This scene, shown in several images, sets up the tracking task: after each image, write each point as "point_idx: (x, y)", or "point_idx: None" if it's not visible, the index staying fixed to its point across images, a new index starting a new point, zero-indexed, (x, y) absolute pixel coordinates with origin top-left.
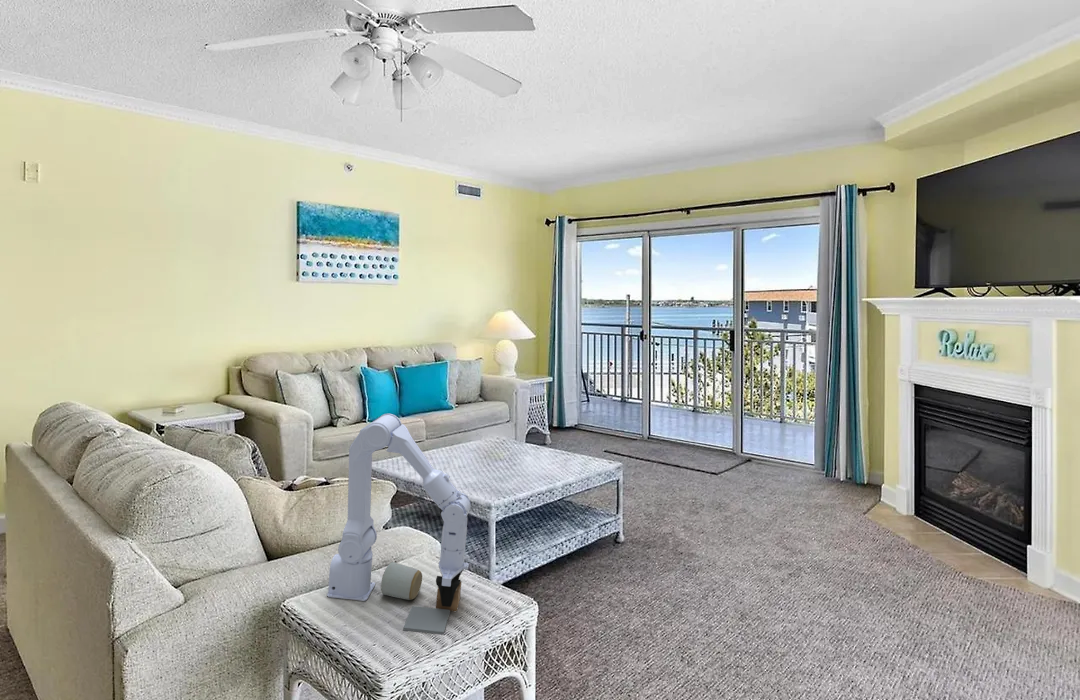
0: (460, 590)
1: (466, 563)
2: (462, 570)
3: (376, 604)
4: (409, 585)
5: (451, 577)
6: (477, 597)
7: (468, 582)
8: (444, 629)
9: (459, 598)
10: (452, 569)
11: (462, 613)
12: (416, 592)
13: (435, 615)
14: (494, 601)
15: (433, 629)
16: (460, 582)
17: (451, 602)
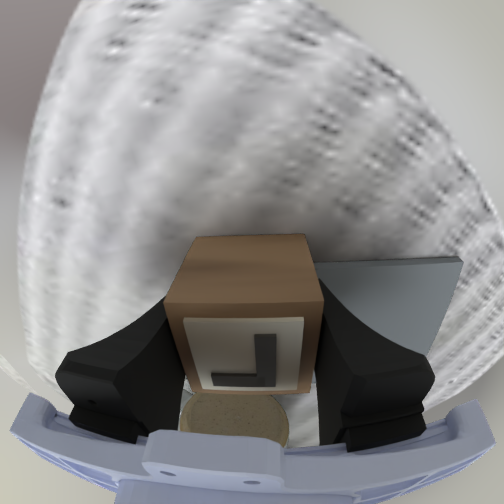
0: (194, 269)
1: (164, 475)
2: (127, 366)
3: (294, 428)
4: (284, 447)
5: (482, 451)
6: (137, 156)
7: (51, 229)
8: (450, 262)
9: (218, 248)
10: (359, 499)
11: (313, 203)
12: (237, 396)
13: (364, 313)
14: (150, 61)
15: (445, 297)
16: (180, 307)
17: (330, 291)
